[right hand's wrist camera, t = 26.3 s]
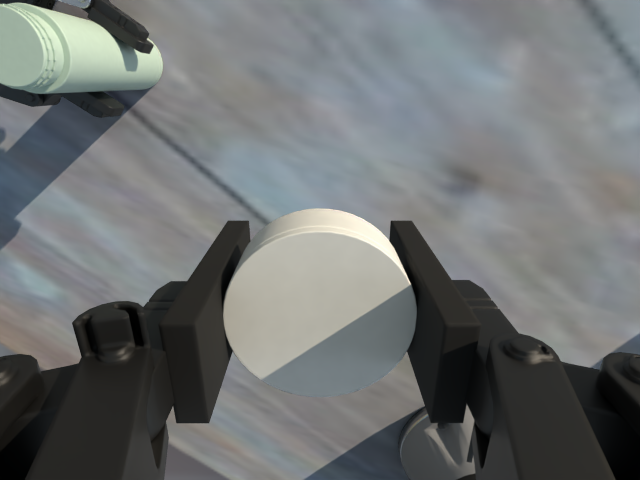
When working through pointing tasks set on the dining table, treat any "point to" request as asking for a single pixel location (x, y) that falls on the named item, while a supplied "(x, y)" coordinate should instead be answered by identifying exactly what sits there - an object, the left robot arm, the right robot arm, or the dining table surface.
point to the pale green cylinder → (68, 54)
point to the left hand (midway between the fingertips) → (131, 80)
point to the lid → (319, 304)
